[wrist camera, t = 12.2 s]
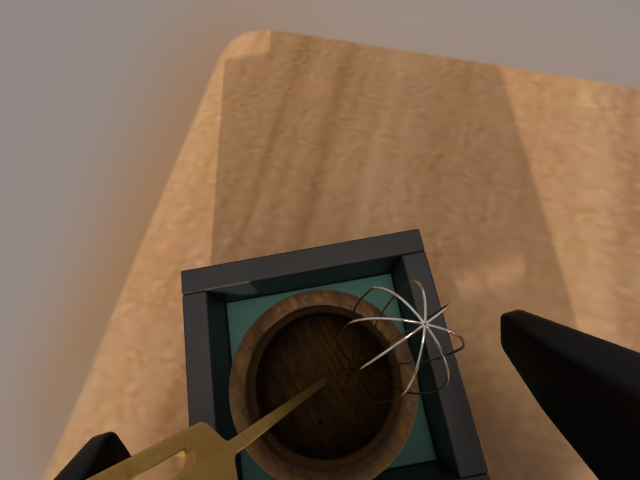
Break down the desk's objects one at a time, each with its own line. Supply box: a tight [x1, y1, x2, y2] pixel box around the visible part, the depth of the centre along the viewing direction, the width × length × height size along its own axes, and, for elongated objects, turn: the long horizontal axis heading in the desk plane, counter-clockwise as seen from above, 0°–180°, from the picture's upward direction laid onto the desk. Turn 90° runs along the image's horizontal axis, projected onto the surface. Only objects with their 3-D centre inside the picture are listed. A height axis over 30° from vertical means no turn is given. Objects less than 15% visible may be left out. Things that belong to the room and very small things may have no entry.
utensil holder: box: [86, 281, 466, 480], centre depth 11 cm, size 6×6×12 cm
